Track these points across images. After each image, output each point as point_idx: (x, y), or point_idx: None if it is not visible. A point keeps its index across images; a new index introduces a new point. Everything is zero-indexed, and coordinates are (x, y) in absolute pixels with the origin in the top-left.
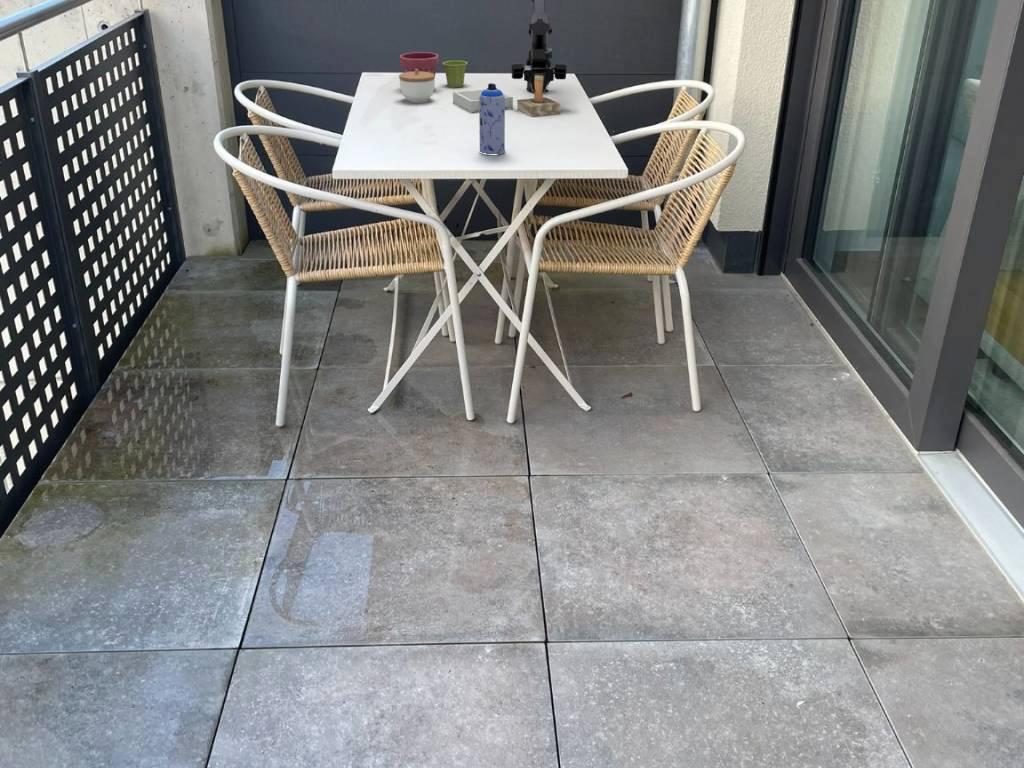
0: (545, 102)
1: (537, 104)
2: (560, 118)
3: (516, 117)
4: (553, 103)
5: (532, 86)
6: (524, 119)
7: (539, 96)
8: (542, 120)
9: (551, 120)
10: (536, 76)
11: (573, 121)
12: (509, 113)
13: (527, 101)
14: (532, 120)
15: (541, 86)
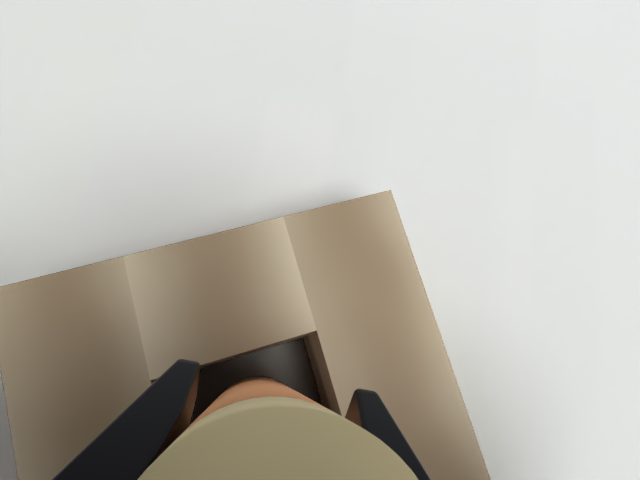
0: None
1: (303, 277)
2: (100, 125)
3: (493, 226)
4: (82, 301)
5: (412, 462)
6: (432, 147)
7: (261, 381)
8: (285, 87)
9: (205, 73)
10: (399, 462)
11: (14, 4)
12: (549, 392)
13: None
14: (370, 103)
15: (222, 401)
